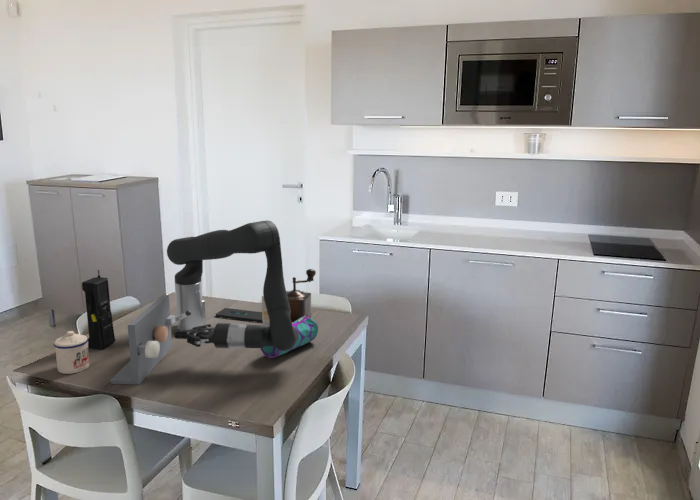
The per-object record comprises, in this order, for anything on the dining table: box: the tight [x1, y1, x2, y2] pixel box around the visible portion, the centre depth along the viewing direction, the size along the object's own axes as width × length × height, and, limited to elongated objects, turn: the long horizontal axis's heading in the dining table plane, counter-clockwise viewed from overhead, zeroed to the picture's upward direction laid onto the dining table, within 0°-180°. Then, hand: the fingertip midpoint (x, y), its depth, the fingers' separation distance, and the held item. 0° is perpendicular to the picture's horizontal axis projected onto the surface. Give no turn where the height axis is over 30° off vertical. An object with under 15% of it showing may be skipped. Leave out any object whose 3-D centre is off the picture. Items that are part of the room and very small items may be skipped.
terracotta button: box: [153, 326, 168, 342], centre depth 165 cm, size 7×5×5 cm
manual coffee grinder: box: [286, 268, 316, 322], centre depth 209 cm, size 16×11×18 cm
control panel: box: [110, 294, 176, 385], centre depth 165 cm, size 10×27×18 cm, turn 178°
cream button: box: [137, 341, 160, 358], centre depth 154 cm, size 7×5×5 cm
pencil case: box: [259, 316, 319, 359], centre depth 179 cm, size 21×9×10 cm, turn 146°
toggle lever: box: [175, 310, 191, 322], centre depth 176 cm, size 6×2×2 cm, turn 88°
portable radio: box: [81, 270, 116, 350], centre depth 177 cm, size 8×6×25 cm
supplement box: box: [261, 295, 270, 326], centre depth 196 cm, size 8×5×13 cm, turn 71°
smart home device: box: [215, 307, 263, 323], centre depth 210 cm, size 8×2×20 cm
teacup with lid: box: [53, 330, 90, 375], centre depth 164 cm, size 12×9×12 cm
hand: (175, 334), depth 165 cm, fingers closed
